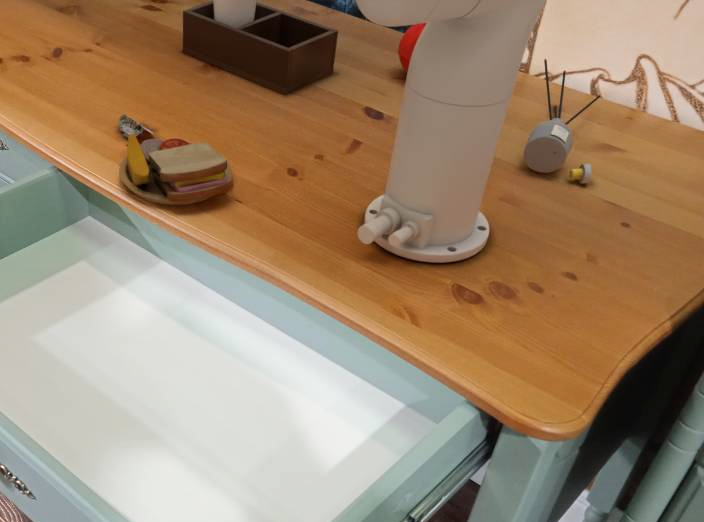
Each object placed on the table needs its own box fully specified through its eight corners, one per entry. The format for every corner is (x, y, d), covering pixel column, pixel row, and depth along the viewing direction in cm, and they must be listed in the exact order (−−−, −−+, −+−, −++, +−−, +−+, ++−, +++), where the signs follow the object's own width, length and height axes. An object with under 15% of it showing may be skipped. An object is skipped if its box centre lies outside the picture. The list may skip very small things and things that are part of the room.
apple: (412, 60, 120) (422, 6, 115) (463, 76, 117) (476, 20, 112) (382, 78, 116) (392, 22, 111) (434, 95, 112) (446, 38, 107)
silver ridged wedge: (134, 142, 101) (152, 153, 103) (144, 124, 100) (162, 136, 102) (112, 129, 105) (130, 141, 107) (122, 112, 105) (139, 124, 107)
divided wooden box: (284, 95, 112) (288, 51, 108) (182, 52, 122) (182, 10, 118) (333, 73, 117) (338, 30, 113) (231, 34, 127) (232, -7, 123)
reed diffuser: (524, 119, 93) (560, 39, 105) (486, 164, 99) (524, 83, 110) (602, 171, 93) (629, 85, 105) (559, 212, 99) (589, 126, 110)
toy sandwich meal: (217, 146, 101) (218, 109, 97) (245, 209, 91) (248, 169, 88) (112, 156, 99) (110, 118, 96) (130, 220, 90) (128, 180, 86)
